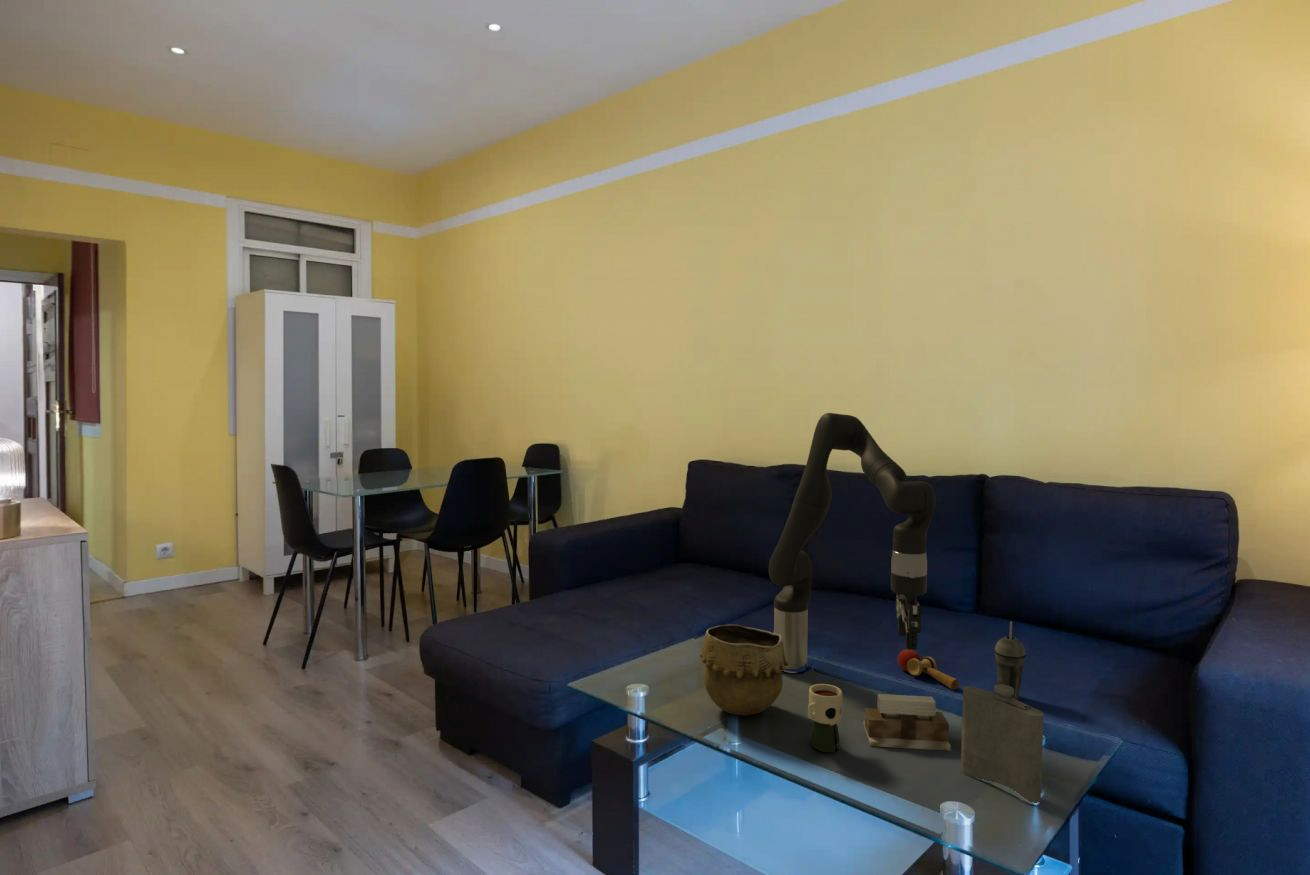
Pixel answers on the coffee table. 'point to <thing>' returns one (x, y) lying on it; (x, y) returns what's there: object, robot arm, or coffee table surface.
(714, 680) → the clay pot
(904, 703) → the clip
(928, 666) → the kendama
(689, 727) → the coffee table surface
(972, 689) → the hip flask
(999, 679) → the beverage cup
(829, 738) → the character mug
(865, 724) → the brown wooden block
